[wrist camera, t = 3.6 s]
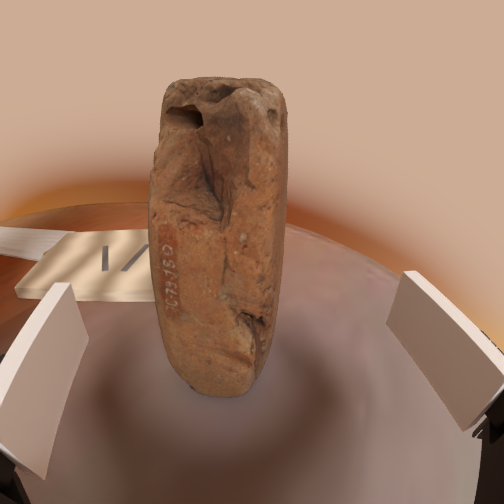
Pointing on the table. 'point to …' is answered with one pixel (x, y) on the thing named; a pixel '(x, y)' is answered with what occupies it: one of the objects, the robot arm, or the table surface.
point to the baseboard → (28, 242)
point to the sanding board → (95, 267)
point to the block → (218, 228)
